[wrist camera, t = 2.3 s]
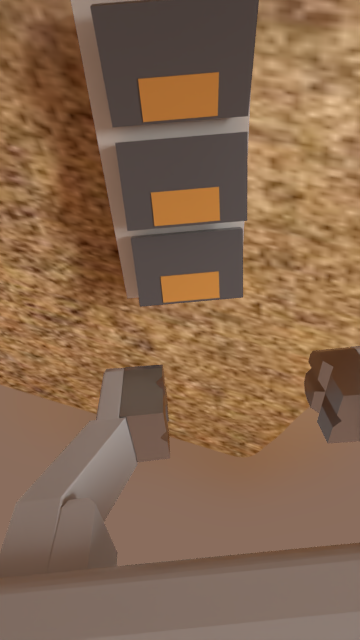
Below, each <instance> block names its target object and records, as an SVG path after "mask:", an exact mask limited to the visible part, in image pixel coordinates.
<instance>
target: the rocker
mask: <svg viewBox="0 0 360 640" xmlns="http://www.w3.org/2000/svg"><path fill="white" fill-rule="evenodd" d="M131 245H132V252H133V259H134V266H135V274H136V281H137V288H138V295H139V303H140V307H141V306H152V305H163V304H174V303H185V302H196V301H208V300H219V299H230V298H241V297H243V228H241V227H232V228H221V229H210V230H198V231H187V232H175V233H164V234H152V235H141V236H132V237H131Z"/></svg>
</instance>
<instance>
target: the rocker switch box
mask: <svg viewBox="0 0 360 640" xmlns="http://www.w3.org/2000/svg"><path fill="white" fill-rule="evenodd" d="M125 1H137V0H71V4H72V10H73V15H74V20H75V25H76V31H77V36H78V41H79V46H80V52H81V57H82V62H83V68H84V73H85V78H86V83H87V89H88V94H89V99H90V104H91V110H92V115H93V120H94V125H95V131H96V136H97V141H98V146H99V152H100V157H101V162H102V167H103V173H104V178H105V183H106V188H107V194H108V199H109V204H110V209H111V215H112V220H113V225H114V231H115V236H116V241H117V246H118V252H119V257H120V262H121V267H122V273H123V278H124V283H125V288H126V294H127V298H137V297H139V295H138V288H137V281H136V274H135V266H134V259H133V252H132V245H131V237H132V236H141V235H152V234H164V233H175V232H187V231H198V230H210V229H221V228H232V227H241V228H243V236H244V221H238V222H226V223H215V224H203V225H192V226H180V227H169V228H158V229H146V230H135V231H127V224H126V217H125V210H124V203H123V196H122V188H121V181H120V174H119V167H118V160H117V153H116V146H115V143H119V142H131V141H142V140H154V139H166V138H178V137H190V136H201V135H213V134H225V133H237V132H248V134H249V114H250V102H249V113H248V116H244V117H232V118H220V119H208V120H196V121H184V122H172V123H160V124H149V125H137V126H125V127H112V122H111V116H110V111H109V105H108V100H107V95H106V89H105V84H104V79H103V73H102V68H101V62H100V57H99V52H98V46H97V41H96V35H95V30H94V25H93V19H92V14H91V9H90V6H91V5H92V4H100V3H112V2H125ZM250 94H251V91H250ZM247 155H248V136H247Z"/></svg>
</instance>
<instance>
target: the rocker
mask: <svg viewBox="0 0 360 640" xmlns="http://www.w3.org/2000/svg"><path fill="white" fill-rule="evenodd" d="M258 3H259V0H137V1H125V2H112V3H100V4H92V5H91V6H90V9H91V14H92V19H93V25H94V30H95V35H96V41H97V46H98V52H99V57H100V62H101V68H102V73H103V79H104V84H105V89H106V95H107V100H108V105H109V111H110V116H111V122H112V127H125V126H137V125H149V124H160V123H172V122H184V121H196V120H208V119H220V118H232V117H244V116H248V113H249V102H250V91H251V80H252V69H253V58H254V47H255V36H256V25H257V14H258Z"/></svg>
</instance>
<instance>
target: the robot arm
mask: <svg viewBox="0 0 360 640" xmlns="http://www.w3.org/2000/svg"><path fill="white" fill-rule="evenodd" d="M309 364H310V366H311V369H310V370H309V371H308V372H307V373H306V375H305V381H304V386H305V394H306V397H307V400H308V403H309V405H310V407H311V408H312V409H314V410H315V411H317V412H318V413H319V417H318V420H317V422H318V424H319V426H320V428H321V430H322V432H323V435H324V436H325V439H326V441H327V443H339V442H355V441H360V346H355V347H346V348H336V349H326V350H316V351H313V352H312V353H311V354H310V358H309ZM168 421H169V418H168V402H167V392H166V386H165V380H164V370H163V365H152V366H137V367H125V368H114V369H106V370H105V372H104V375H103V381H102V387H101V393H100V399H99V405H98V411H97V417H96V420H94V421H89V423H88V424H87V425H86V426H85V427H84V428H83V429H82V430H81V432H80V433H79V434H78V435H77V436H76V437H75V438H74V439H73V440H72V441H71V442H70V444H69V445H68V446H67V447H66V448H65V449H64V450H63V451H62V453H61V454H60V455H59V456H58V457H57V458H56V459H55V460H54V461H53V463H52V464H51V465H50V466H49V467H48V468H47V469H46V470H45V471H44V473H43V474H42V475H41V476H40V477H39V478H38V479H37V480H36V481H35V483H34V484H33V485H32V486H31V487H30V488H29V489H28V490H27V491H26V493H25V494H24V495H23V496H22V497H21V498H20V499H19V500H18V502H17V503H16V505H15V509H14V512H13V515H12V518H11V521H10V524H9V527H8V530H7V533H6V536H5V539H4V542H3V545H2V549H1V552H0V640H360V543H352V544H351V543H350V544H341V545H331V546H320V547H309V548H299V549H289V550H279V551H268V552H259V553H248V554H237V555H228V556H217V557H207V558H196V559H186V560H176V561H166V562H156V563H145V564H135V565H125V566H117V550H116V548H115V546H114V544H113V542H112V539H111V537H110V535H109V533H108V530H107V528H106V526H105V524H104V521H105V519H106V518H107V516H108V514H109V512H110V511H111V509H112V507H113V506H114V504H115V502H116V500H117V499H118V497H119V495H120V493H121V492H122V490H123V488H124V487H125V485H126V483H127V481H128V480H129V478H130V476H131V475H132V473H133V471H134V469H135V468H136V466H137V462H143V461H151V460H159V459H167V458H170V445H169V430H168Z"/></svg>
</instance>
